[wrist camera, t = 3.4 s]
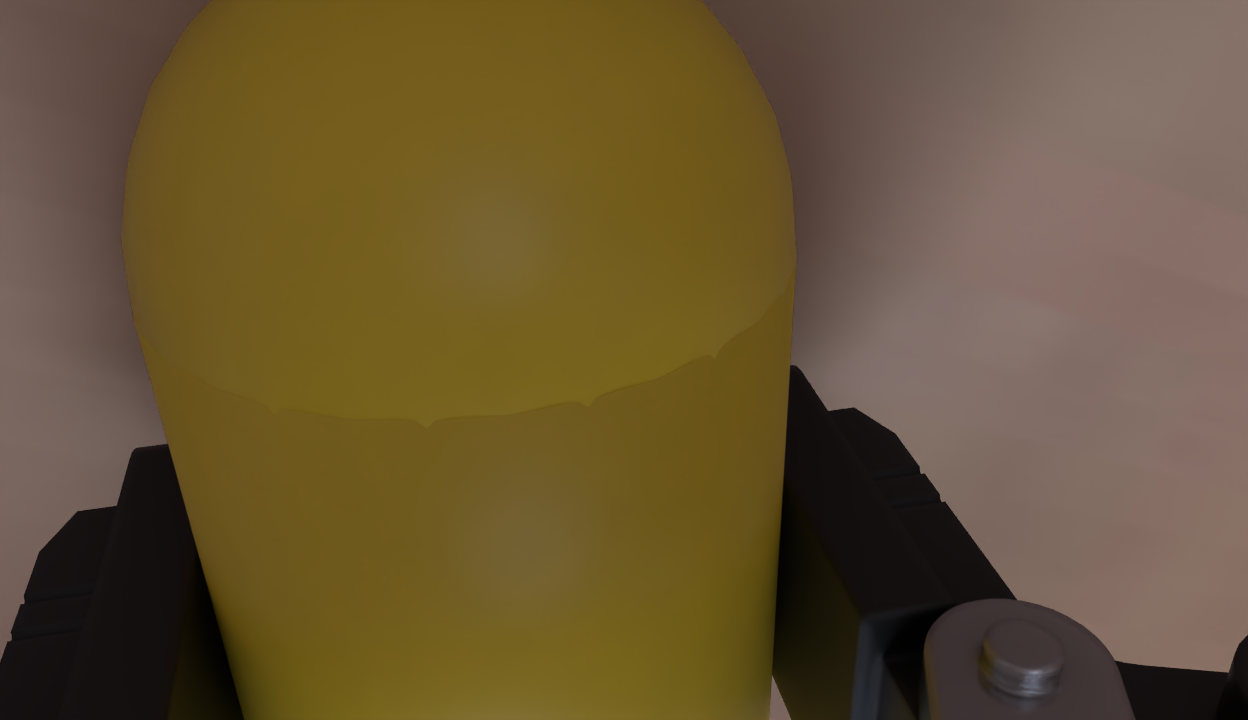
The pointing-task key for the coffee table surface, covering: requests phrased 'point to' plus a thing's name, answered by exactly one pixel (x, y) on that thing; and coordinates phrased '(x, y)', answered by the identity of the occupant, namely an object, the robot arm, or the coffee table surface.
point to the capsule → (472, 353)
